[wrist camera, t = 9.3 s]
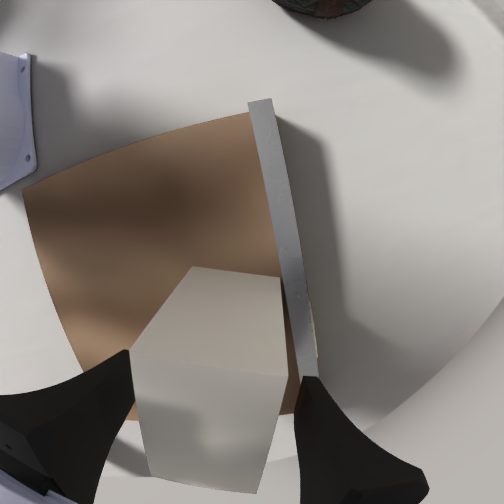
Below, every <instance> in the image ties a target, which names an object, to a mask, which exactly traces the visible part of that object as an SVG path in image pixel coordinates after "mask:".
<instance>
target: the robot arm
mask: <svg viewBox="0 0 504 504" xmlns="http://www.w3.org/2000/svg"><path fill="white" fill-rule="evenodd" d="M24 69H25V70H24ZM29 157H30V161H29ZM36 167H37V161H36V154H35V146H34V137H33V127H32V115H31V95H30V54H29V53H24V54H22V55H21V56H20V57H15V56H12V55H9V54H6V53H2V52H0V190H2V189H4V188H5V187H7V186H9V185H10V184H12V183H14V182H16V181H18V180H19V179H21V178H23V177H25V176H27V175H29V174H31V173H33V172H34V171H35V169H36ZM134 402H135V393H134V386H133V379H132V371H131V362H130V353H129V350H126V349H123V350H121V351H120V352H118V353H116V354H115V355H113V356H111V357H110V358H108V359H106V360H105V361H103V362H101V363H100V364H98V365H96V366H95V367H93V368H91V369H89V370H87V371H86V372H84V373H82V374H80V375H78V376H76V377H74V378H72V379H69V380H67V381H65V382H62V383H60V384H57V385H54V386H51V387H48V388H44V389H40V390H37V391H32V392H27V393H21V394H13V395H0V504H93V503H94V498H95V493H96V490H97V486H98V482H99V479H100V476H101V473H102V470H103V467H104V464H105V461H106V458H107V456H108V453H109V450H110V448H111V445H112V443H113V441H114V439H115V437H116V435H117V434H118V432H119V430H120V428H121V426H122V425H123V423H124V421H125V419H126V417H127V416H128V414H129V412H130V410H131V408H132V406H133V404H134ZM294 431H295V439H296V446H297V453H298V460H299V468H300V484H301V485H300V490H301V491H300V492H301V493H300V494H301V495H300V504H419V503H420V502H421V501H422V500H423V499H424V498H425V497H426V495H427V494H428V492H429V486H428V483H427V480H426V478H425V476H424V473H423V471H422V470H421V469H419V468H417V467H415V466H413V465H411V464H409V463H406V462H404V461H402V460H400V459H398V458H397V457H395V456H393V455H392V454H390V453H388V452H387V451H385V450H384V449H382V448H381V447H379V446H378V445H377V444H376V443H374V442H373V441H371V440H370V439H369V438H368V437H367V436H366V435H364V434H363V433H362V432H361V431H360V430H359V429H358V428H357V427H356V426H355V425H354V424H353V423H352V422H351V421H350V420H349V419H348V418H347V416H346V415H345V414H344V413H343V412H342V410H341V409H340V408H339V407H338V405H337V404H336V403H335V401H334V400H333V399H332V397H331V396H330V394H329V393H328V392H327V390H326V389H325V387H324V386H323V384H322V383H321V381H320V380H319V378H318V377H317V376H303V378H302V382H301V385H300V389H299V393H298V397H297V400H296V404H295V408H294Z"/></svg>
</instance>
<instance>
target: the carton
mask: <svg viewBox="0 0 504 504" xmlns="http://www.w3.org/2000/svg"><path fill="white" fill-rule="evenodd" d="M129 353H130V362H131V371H132V379H133V386H134V393H135V400H136V406H137V412H138V418H139V423H140V429H141V434H142V439H143V444H144V449H145V453H146V458H147V462H148V466H149V470H150V474H151V476H154V477H157V478H162V479H165V480H170V481H174V482H179V483H183V484H188V485H193V486H199V487H204V488H211V489H217V490H224V491H232V492H240V493H252V494H256V493H257V490H258V486H259V483H260V480H261V477H262V473H263V470H264V467H265V463H266V460H267V456H268V453H269V449H270V446H271V442H272V438H273V435H274V431H275V427H276V423H277V420H278V416H279V412H280V408H281V404H282V400H283V396H284V392H285V388H286V384H287V380H288V365H287V352H286V340H285V329H284V318H283V306H282V296H281V285H280V277H272V276H264V275H256V274H248V273H241V272H233V271H225V270H218V269H210V268H203V267H196V266H192V267H191V269H190V270H189V271H188V272H187V274H186V275H185V276H184V278H183V279H182V280H181V282H180V283H179V284H178V285H177V287H176V288H175V289H174V291H173V292H172V293H171V295H170V296H169V297H168V299H167V300H166V301H165V303H164V304H163V305H162V306H161V308H160V309H159V310H158V312H157V313H156V314H155V316H154V317H153V318H152V320H151V321H150V323H149V324H148V325H147V327H146V328H145V329H144V331H143V332H142V333H141V335H140V336H139V337H138V339H137V340H136V341H135V343H134V344H133V346H132V347H131V348H130V350H129Z"/></svg>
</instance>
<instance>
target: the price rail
mask: <svg viewBox="0 0 504 504" xmlns="http://www.w3.org/2000/svg"><path fill="white" fill-rule="evenodd" d="M248 107H249V112H250V117H251V121H252V126H253V130H254V135H255V140H256V145H257V149H258V154H259V159H260V164H261V169H262V174H263V178H264V183H265V188H266V193H267V198H268V204H269V209H270V214H271V219H272V224H273V229H274V234H275V240H276V245H277V250H278V256H279V261H280V267H281V272H282V277H283V283H284V289H285V294H286V300H287V306H288V311H289V317H290V323H291V329H292V335H293V340H294V346H295V353H296V359H297V365H298V371H299V377H300V384H301V382H302V378H303V376H317V377H318V378H319V374H318V365H317V358H318V353H317V345H316V337H315V329H314V321H313V314H312V307H311V303H310V300H309V297H308V290H307V284H306V277H305V271H304V264H303V258H302V252H301V246H300V240H299V234H298V228H297V223H296V217H295V211H294V206H293V201H292V195H291V190H290V185H289V179H288V174H287V169H286V164H285V159H284V154H283V150H282V145H281V140H280V135H279V131H278V126H277V121H276V117H275V112H274V108H273V104H272V99H271V98H270V99H264V100H259V101H254V102H249V103H248Z"/></svg>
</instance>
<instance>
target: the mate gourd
mask: <svg viewBox="0 0 504 504" xmlns="http://www.w3.org/2000/svg"><path fill="white" fill-rule="evenodd" d="M272 1H273V2H275V3H276V4H278V5H279V6H281V7H283V8H285V9H287V10H290V11H293V12H297V13H299V14H304V15H308V16H311V17H314V18H321V19H324V18H328V19H331V18H337V17H339V16H342V15H346V14H348V13H352V12H354V11H357V10H359V9H360V8H362V7H363V6H365V5H366V4H368V3H369V2H371V1H372V0H272Z"/></svg>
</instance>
